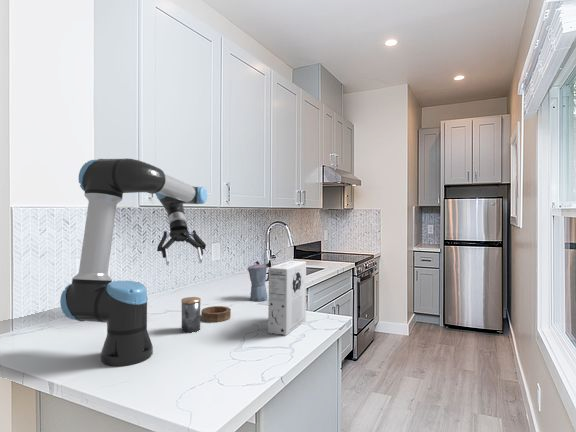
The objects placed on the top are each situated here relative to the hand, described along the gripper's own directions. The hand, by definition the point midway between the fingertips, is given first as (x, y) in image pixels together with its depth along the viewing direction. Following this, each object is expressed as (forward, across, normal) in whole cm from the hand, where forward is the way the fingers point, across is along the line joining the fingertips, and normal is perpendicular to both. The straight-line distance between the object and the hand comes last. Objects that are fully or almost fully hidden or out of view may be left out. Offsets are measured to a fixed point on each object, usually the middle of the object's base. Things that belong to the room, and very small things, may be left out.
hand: (184, 262), depth 155 cm
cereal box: (+35, -36, 0) cm, 50 cm away
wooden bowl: (+19, -13, -16) cm, 28 cm away
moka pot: (+3, -42, -33) cm, 53 cm away
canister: (+26, 0, -8) cm, 28 cm away
